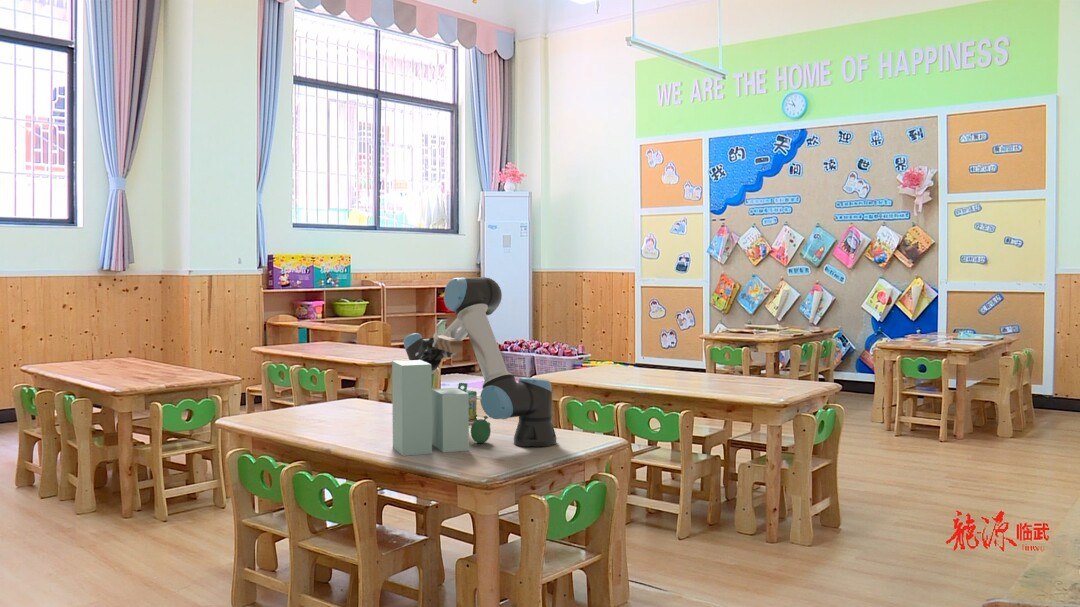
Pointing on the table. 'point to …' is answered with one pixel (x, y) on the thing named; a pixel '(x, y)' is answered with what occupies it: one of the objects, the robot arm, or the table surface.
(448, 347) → the walnut rod
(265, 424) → the table surface
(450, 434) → the step shelf
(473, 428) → the alien toy
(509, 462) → the table surface
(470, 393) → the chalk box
